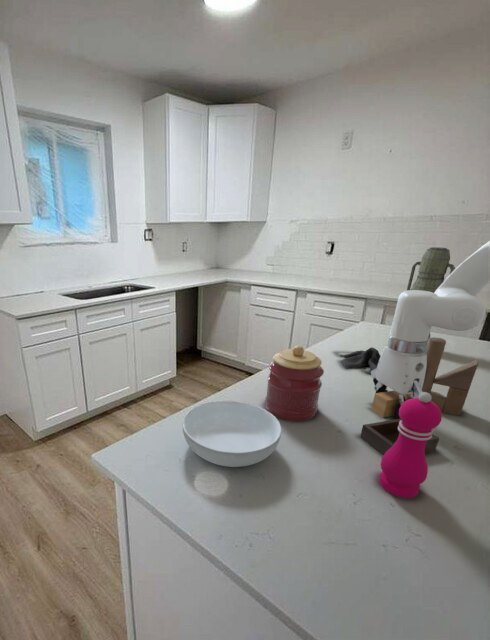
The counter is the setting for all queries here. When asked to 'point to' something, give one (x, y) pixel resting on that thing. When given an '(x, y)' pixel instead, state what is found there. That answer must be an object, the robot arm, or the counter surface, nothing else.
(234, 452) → the serving bowl
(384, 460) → the pepper mill
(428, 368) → the wooden block structure
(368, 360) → the cloth
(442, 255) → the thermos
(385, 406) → the tan rectangular block
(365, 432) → the socket
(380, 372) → the robot arm
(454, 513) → the counter surface
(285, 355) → the kitchen canister
